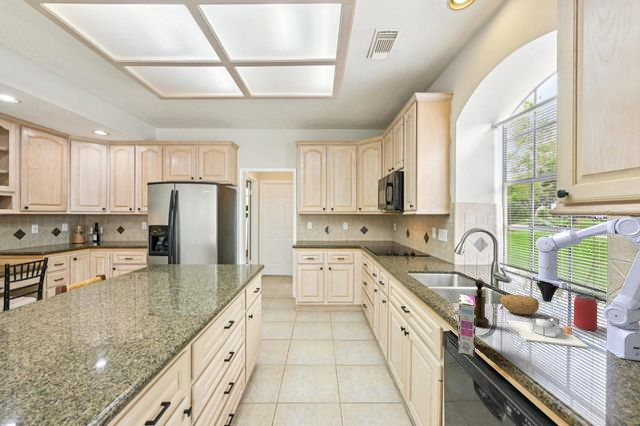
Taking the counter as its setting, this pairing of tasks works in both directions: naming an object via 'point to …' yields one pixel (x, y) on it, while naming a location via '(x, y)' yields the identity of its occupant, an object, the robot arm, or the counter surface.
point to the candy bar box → (467, 325)
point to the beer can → (585, 312)
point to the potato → (520, 304)
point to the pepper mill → (480, 306)
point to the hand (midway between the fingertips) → (547, 301)
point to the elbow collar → (545, 327)
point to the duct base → (563, 339)
